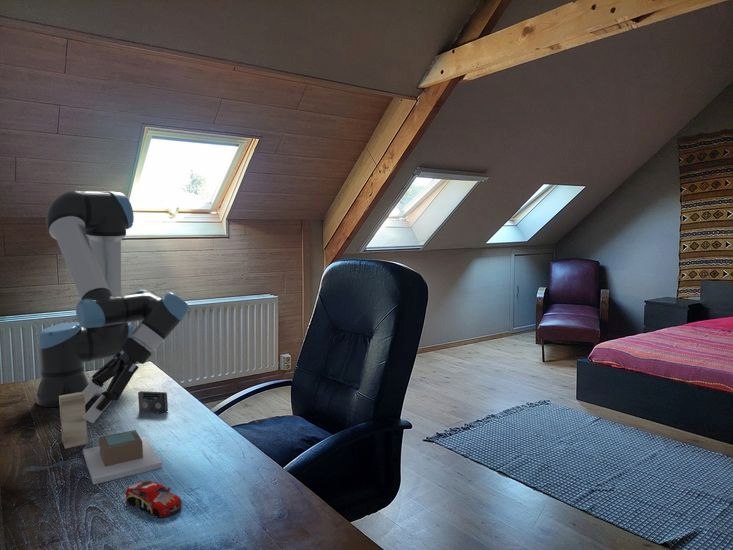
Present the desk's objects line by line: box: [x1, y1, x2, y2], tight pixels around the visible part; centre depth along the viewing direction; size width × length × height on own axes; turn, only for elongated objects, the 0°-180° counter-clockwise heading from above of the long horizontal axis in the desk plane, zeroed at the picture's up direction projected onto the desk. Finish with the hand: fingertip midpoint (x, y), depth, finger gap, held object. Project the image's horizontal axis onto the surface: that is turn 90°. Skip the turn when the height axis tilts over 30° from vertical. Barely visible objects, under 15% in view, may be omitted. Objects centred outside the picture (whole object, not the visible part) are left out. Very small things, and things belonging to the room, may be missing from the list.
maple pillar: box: [59, 392, 89, 449], centre depth 137 cm, size 5×5×12 cm
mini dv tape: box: [137, 390, 169, 414], centre depth 159 cm, size 8×2×6 cm, turn 80°
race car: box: [125, 480, 182, 519], centre depth 107 cm, size 13×5×4 cm, turn 55°
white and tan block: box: [82, 429, 163, 485], centre depth 127 cm, size 18×14×5 cm
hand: (82, 412), depth 137 cm, fingers open, 13 cm apart
